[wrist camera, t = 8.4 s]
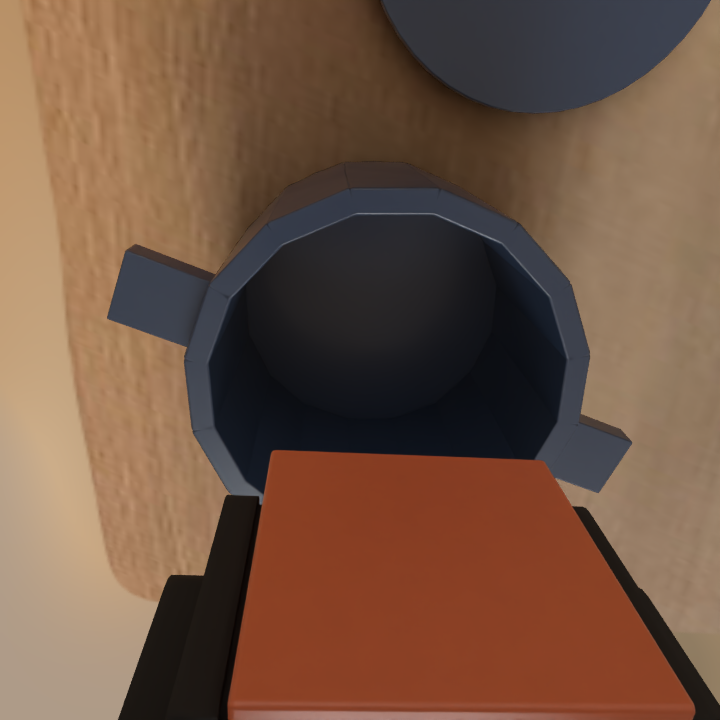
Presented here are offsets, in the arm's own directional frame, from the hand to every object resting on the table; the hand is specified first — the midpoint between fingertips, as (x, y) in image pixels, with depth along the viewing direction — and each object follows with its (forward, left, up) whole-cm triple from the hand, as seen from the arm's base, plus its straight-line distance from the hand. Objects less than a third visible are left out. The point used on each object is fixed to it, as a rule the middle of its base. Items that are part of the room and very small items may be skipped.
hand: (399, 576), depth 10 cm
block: (0, 0, 0) cm, 0 cm away
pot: (+1, 0, -19) cm, 19 cm away
